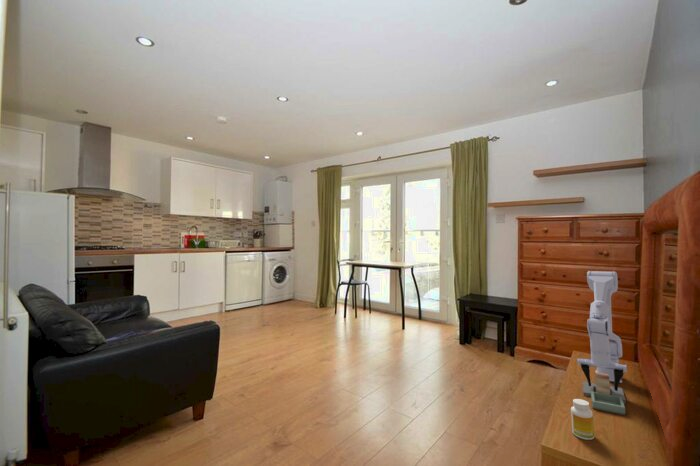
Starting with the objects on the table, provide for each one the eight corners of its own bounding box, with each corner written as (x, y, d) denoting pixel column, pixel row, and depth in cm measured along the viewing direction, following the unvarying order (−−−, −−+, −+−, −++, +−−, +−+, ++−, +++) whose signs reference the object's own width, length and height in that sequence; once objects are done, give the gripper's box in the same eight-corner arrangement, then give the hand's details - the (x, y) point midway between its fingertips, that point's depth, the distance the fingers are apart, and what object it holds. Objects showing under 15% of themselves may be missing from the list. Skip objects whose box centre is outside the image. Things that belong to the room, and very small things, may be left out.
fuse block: (595, 390, 122) (594, 372, 122) (609, 393, 119) (608, 374, 120) (596, 395, 118) (595, 375, 119) (610, 397, 116) (609, 378, 116)
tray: (591, 398, 116) (590, 391, 116) (622, 404, 111) (621, 396, 111) (592, 408, 109) (592, 401, 109) (625, 415, 104) (625, 407, 104)
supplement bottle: (598, 441, 92) (596, 406, 92) (577, 439, 93) (575, 405, 93) (588, 430, 97) (586, 398, 97) (568, 429, 98) (566, 396, 98)
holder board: (582, 384, 127) (582, 381, 127) (621, 391, 120) (621, 387, 121) (583, 395, 118) (583, 392, 118) (626, 403, 112) (625, 400, 112)
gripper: (576, 350, 120) (579, 387, 120) (627, 357, 112) (629, 396, 112) (576, 345, 126) (578, 380, 126) (624, 351, 118) (626, 388, 117)
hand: (602, 387), depth 119 cm, fingers open, 7 cm apart
